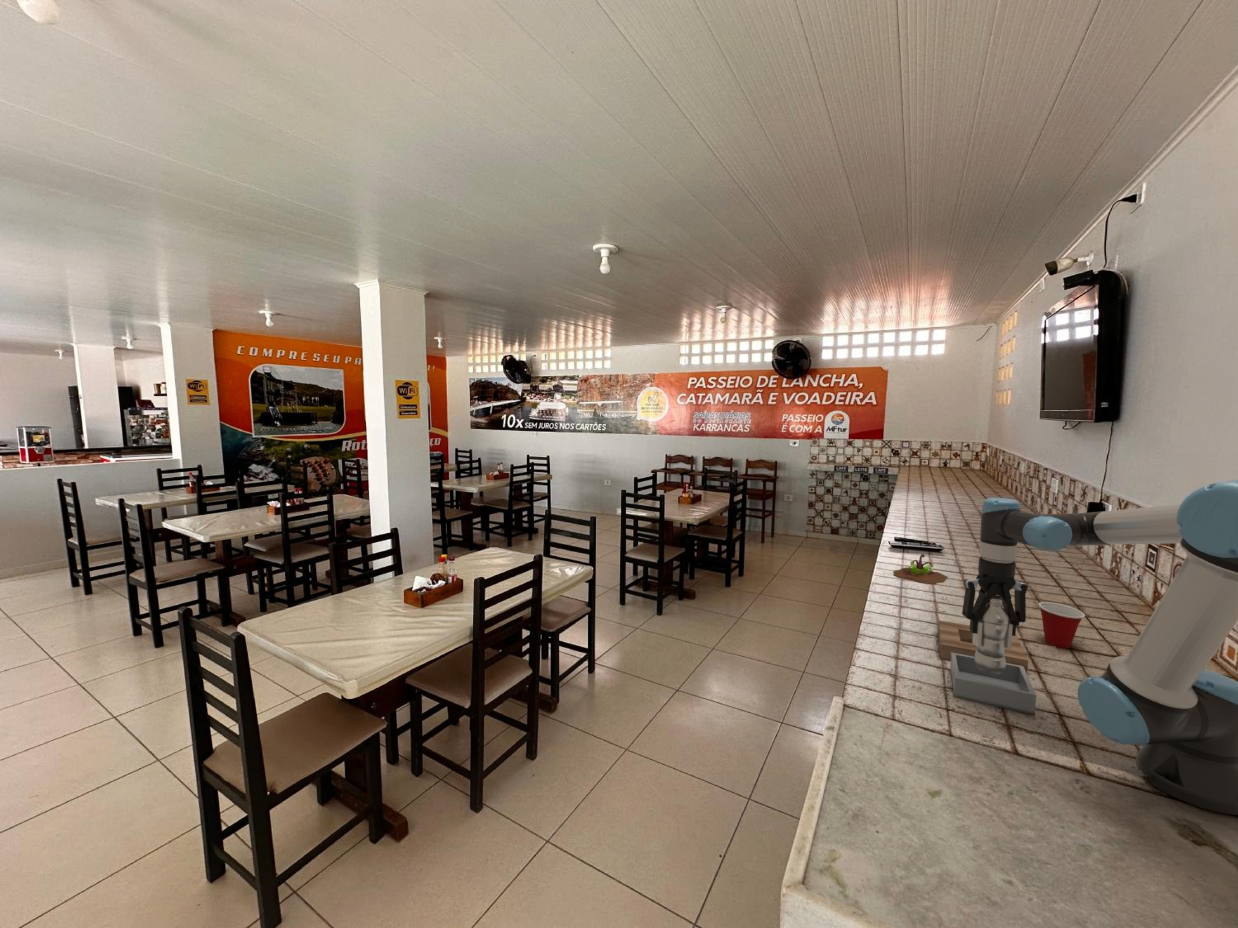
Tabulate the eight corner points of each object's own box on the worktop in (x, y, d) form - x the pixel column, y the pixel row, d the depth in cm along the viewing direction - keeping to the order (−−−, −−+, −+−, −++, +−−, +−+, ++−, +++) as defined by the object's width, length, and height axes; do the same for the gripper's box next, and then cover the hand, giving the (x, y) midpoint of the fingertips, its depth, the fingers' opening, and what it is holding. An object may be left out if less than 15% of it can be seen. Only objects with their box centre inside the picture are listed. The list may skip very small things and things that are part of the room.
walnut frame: (1027, 675, 136) (1028, 660, 136) (940, 658, 147) (941, 643, 146) (1014, 646, 154) (1015, 632, 153) (937, 633, 164) (938, 619, 163)
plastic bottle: (969, 663, 133) (974, 590, 131) (999, 667, 131) (1005, 593, 129) (978, 674, 127) (983, 599, 125) (1009, 679, 125) (1015, 602, 123)
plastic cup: (1078, 657, 147) (1081, 617, 146) (1032, 644, 155) (1034, 607, 154) (1085, 646, 154) (1088, 608, 153) (1040, 634, 162) (1042, 599, 161)
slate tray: (1034, 715, 119) (1036, 695, 118) (954, 696, 127) (955, 677, 126) (1022, 684, 132) (1023, 666, 132) (950, 669, 140) (951, 652, 140)
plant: (955, 581, 216) (956, 556, 215) (935, 590, 205) (936, 564, 204) (906, 570, 232) (907, 546, 231) (886, 578, 221) (887, 553, 220)
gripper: (1030, 556, 128) (1024, 642, 130) (948, 553, 132) (944, 636, 134) (1049, 564, 121) (1042, 655, 123) (962, 561, 124) (957, 649, 127)
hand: (991, 645), depth 129 cm, fingers closed on plastic bottle, 6 cm apart
